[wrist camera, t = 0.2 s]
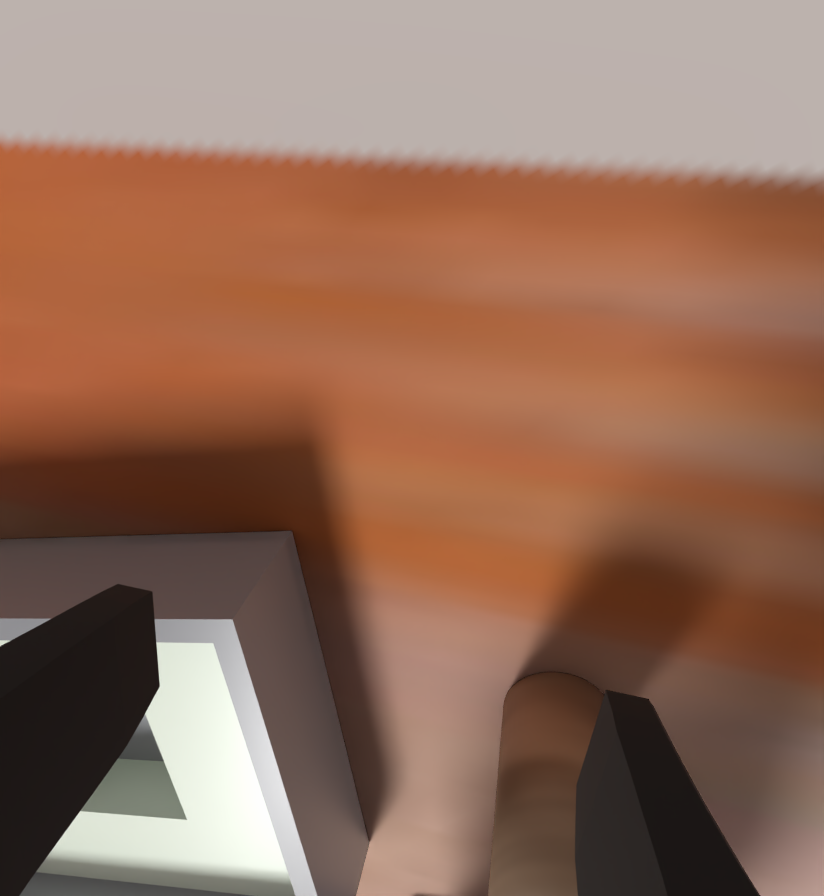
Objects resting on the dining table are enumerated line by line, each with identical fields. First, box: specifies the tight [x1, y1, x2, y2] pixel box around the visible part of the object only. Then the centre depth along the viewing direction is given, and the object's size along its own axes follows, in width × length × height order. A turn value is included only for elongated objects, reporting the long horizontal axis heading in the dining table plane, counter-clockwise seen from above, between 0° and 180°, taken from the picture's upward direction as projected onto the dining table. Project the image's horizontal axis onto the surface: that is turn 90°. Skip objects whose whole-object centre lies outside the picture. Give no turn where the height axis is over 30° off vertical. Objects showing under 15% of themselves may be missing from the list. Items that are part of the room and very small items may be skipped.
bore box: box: [0, 531, 369, 896], centre depth 24 cm, size 15×16×4 cm
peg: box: [488, 672, 604, 896], centre depth 19 cm, size 4×4×7 cm
